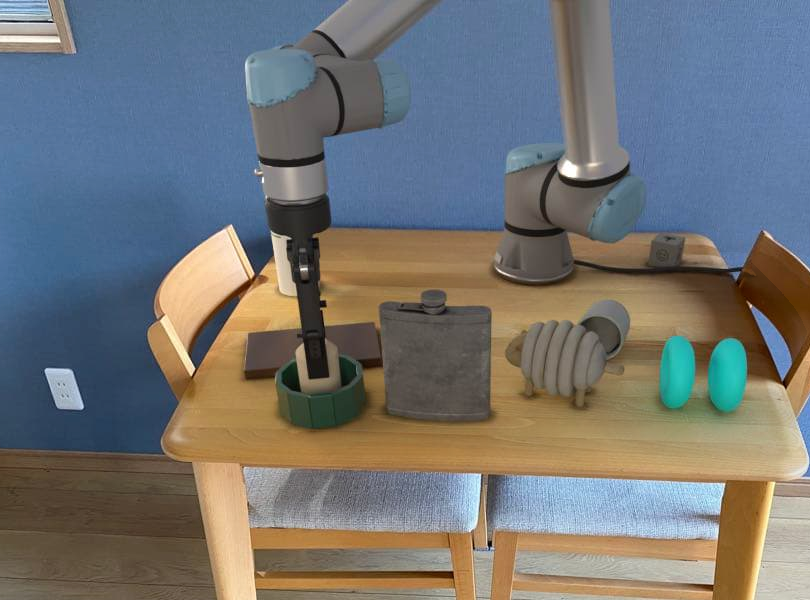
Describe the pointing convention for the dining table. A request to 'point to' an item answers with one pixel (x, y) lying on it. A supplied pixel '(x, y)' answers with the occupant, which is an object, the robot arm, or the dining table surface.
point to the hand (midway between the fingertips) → (318, 365)
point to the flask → (436, 359)
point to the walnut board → (281, 345)
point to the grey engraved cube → (666, 250)
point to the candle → (323, 383)
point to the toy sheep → (560, 359)
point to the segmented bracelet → (321, 396)
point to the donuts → (722, 374)
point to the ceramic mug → (608, 324)
